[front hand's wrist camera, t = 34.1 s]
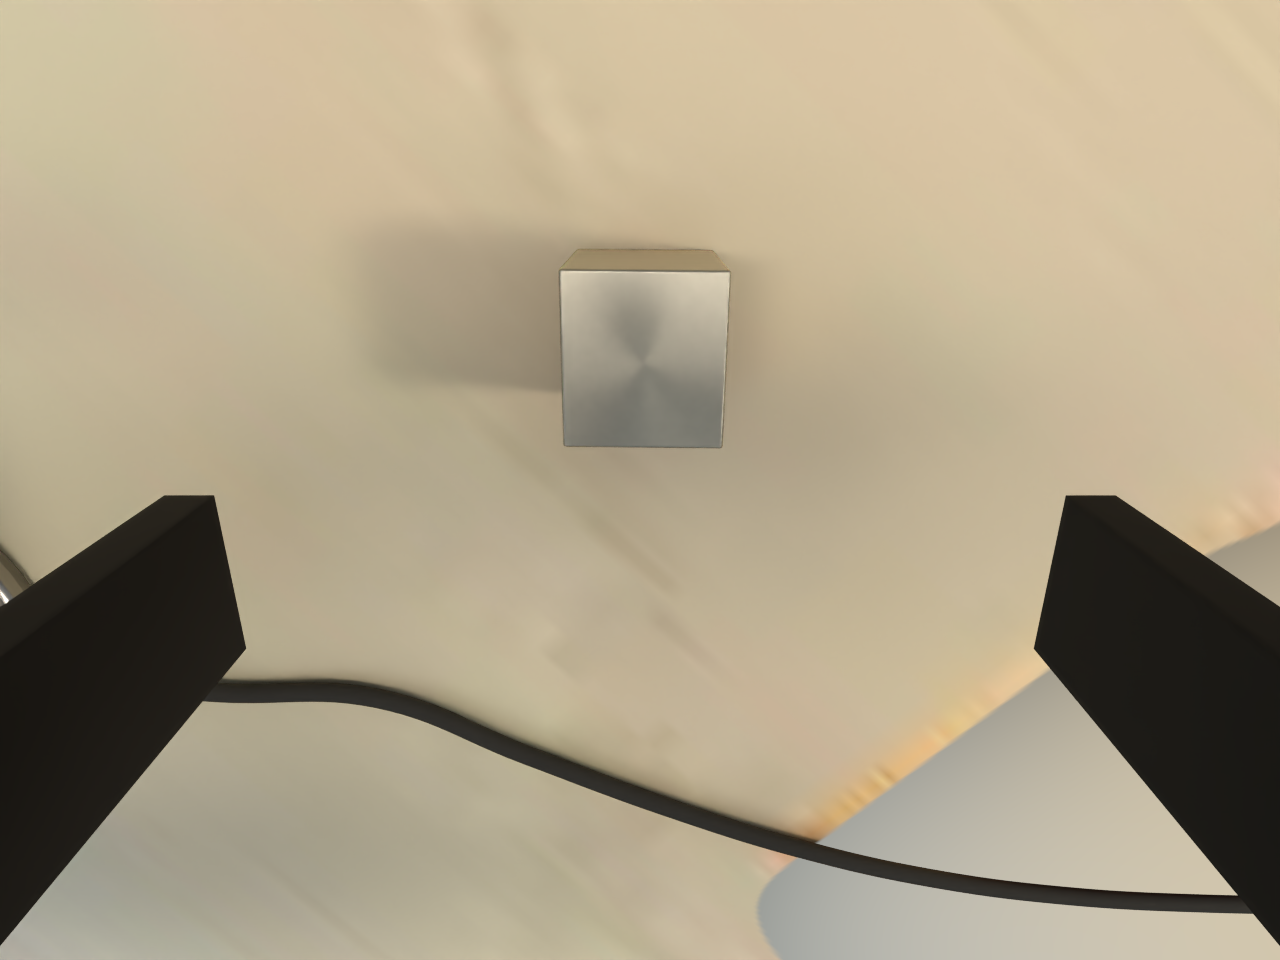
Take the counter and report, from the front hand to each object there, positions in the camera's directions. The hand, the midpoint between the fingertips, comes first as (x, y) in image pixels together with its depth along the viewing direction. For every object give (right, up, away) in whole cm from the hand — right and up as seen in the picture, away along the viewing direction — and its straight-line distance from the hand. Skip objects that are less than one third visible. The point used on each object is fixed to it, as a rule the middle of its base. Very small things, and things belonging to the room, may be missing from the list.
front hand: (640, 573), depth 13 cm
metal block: (0, +8, +20) cm, 22 cm away
